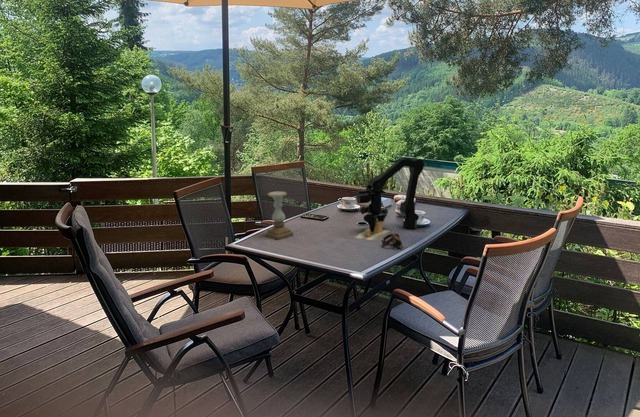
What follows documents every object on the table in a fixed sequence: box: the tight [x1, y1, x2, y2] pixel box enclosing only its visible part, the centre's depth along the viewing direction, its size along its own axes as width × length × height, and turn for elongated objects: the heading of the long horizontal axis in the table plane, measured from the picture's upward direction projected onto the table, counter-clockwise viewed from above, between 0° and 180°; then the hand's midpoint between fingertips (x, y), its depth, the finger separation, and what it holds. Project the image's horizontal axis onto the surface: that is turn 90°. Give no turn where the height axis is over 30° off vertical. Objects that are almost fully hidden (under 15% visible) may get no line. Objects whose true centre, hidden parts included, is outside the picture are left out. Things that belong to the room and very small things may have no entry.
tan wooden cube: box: [368, 220, 384, 234], centre depth 262 cm, size 5×5×6 cm
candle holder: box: [265, 190, 294, 241], centre depth 260 cm, size 11×11×24 cm
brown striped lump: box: [380, 233, 404, 250], centre depth 238 cm, size 12×10×8 cm
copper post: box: [364, 228, 370, 237], centre depth 254 cm, size 3×3×4 cm
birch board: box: [352, 227, 391, 242], centre depth 258 cm, size 13×20×1 cm, turn 149°
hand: (376, 229), depth 262 cm, fingers open, 9 cm apart
